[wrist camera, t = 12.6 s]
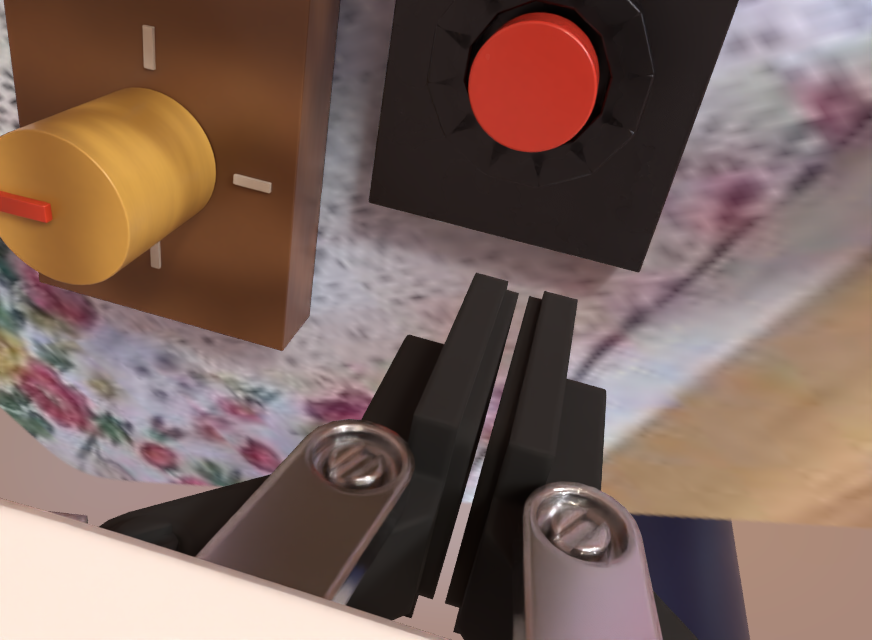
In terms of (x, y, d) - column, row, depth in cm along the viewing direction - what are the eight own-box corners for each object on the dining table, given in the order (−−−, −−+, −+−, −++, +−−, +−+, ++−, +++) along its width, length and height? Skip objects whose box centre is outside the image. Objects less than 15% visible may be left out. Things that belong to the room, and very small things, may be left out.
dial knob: (216, 103, 25) (117, 154, 21) (216, 234, 28) (129, 306, 23) (84, 73, 26) (-44, 115, 21) (96, 204, 29) (-14, 268, 24)
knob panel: (309, 316, 33) (281, 353, 30) (83, 253, 34) (36, 284, 31) (343, -25, 25) (309, -16, 23) (52, -91, 27) (-13, -89, 24)
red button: (580, 148, 23) (577, 166, 21) (467, 121, 23) (456, 136, 22) (615, 27, 21) (613, 37, 19) (492, -1, 21) (481, 7, 20)
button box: (638, 247, 28) (640, 296, 24) (385, 182, 29) (352, 221, 25) (769, -118, 21) (795, -121, 18) (438, -185, 22) (404, -199, 19)
